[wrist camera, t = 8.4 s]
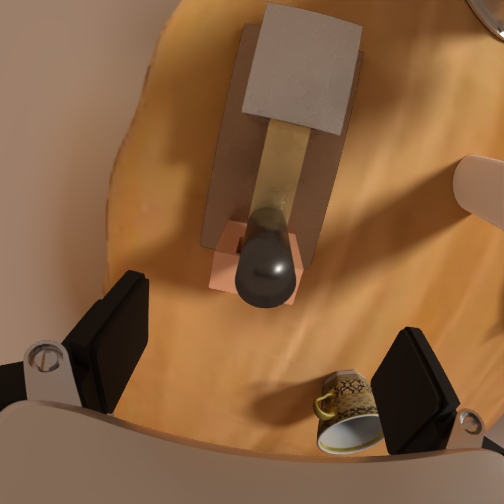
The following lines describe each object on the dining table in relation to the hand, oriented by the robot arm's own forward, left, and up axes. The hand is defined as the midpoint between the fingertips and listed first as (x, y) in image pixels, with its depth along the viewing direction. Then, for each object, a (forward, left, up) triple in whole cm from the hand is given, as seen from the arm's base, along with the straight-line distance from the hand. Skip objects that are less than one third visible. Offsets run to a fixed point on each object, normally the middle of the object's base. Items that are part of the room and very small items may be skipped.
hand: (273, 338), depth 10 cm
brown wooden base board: (-6, 0, -22) cm, 23 cm away
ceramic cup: (+23, +16, -22) cm, 36 cm away
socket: (+5, 0, -21) cm, 22 cm away
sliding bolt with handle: (-3, 0, -17) cm, 17 cm away
